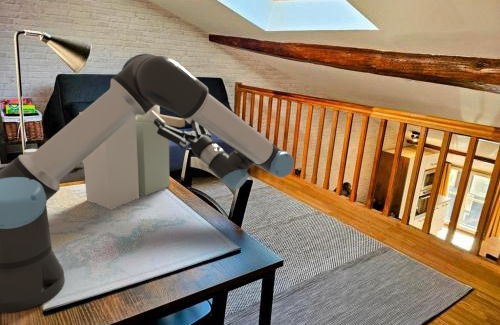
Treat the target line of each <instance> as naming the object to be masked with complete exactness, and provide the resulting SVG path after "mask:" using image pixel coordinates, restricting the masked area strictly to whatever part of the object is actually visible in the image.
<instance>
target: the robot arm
mask: <svg viewBox="0 0 500 325" xmlns="http://www.w3.org/2000/svg"><path fill="white" fill-rule="evenodd" d="M155 105H158V106H160V107H161V108H163V109H165V110H168V111H170V112H172V113H174V114H175V115H178V116H179V117H180V118H183V119H185V122H187V123H188V124H189V125H190V126H192V130H191V131H186V130H180V129H177V128H176V127H174V126H171V125H169V126H168V125H165V124H166V122H165V121H163V120H162V119H161V118H160V117H159V116H158V115H157V114H156V113H155V112H154V111H153V110H152V111H151V112H150V115H149V118H150V119H151V120H152V121H153V123H154V124H155V125H156V126H157V127H158V128H159V129H158V131H157V134H159V135H161V136H163V137H164V138H166V139H168V140H169V142H172V143H174V144H176V145H178V147H180V148H181V149H185V148H186V147H187V146H188V147H189V148H191V153H192V154H193V155H194V156H195V157H196V158H197V159H199V160H200V162H201V163H202V164H203V165H205V167H207V168H208V169H209V170H210V171H211V172H212V173H213V174H214V175H215V176H216V177H217V178H218V179H219V180H220V181H221V182H222V183H223V184H224V185H226V186H227V188H229V189H230V190H233V191H234V190H237V189H239V188H241V187H242V186H243V185H244V184H245V183H246V181H247V180H248V179H249V175H250V174H249V172H248V170H249V169H250V168H251V167H252V166H256V167H257V168H259V169H261V170H264V171H265V172H267V173H268V174H271V175H272V176H275V177H278V178H286V177H287V176H289V175H290V174H291V173H292V171H293V169H294V165H295V162H294V161H295V159H294V158H293V156H292V155H291V154H290V153H289V152H287V151H286V150H282V149H280V148H279V147H278V146H276V145H275V144H274V143H272V142H271V141H270V140H269V139H268V138H267V137H266V136H265V135H264V134H262V133H261V132H259V131H257V130H256V129H255V128H253V127H252V126H251V125H250V124H248V123H247V122H245V120H243V119H242V118H241V117H239V116H238V115H237V114H235V113H234V112H233V111H232V110H230V109H229V108H228V107H227V106H225V105H224V104H223V103H222V102H220V101H219V99H217V98H215V97H214V96H213V95H211V94H210V92H209V88H208V86H207V85H205V83H203V82H202V81H200V80H199V79H198V78H197V77H196V76H195V75H193V73H191V72H190V71H189V70H187V69H186V68H185V67H184V66H183V65H181V63H179V62H178V61H176V60H174V59H173V58H171V57H168V56H165V55H163V56H162V55H155V54H152V53H151V54H150V53H140V54H136V55H133V56H132V57H130V58H129V59H128V60H127V61H126V62H125V63H124V65H123V66H122V68H121V70H120V71H119V72H118V73H117V74H115V75H114V76H113V77H112V78H111V79H110V87H109V89H108V90H107V91H106V92H104V93H103V94H102V95H101V96H99V97H98V98H97V99H96V100H95V101H94V102H92V103H91V104H90V105H89V106H87V107H86V108H85V109H84V110H83V111H81V112H82V113H80V114H78V115H77V116H76V117H74V118H73V119H71V121H69V123H67V124H66V125H65V126H64V127H63V128H61V129H60V130H59V131H58V132H57V133H55V134H54V135H53V136H51V138H50V139H48V140H47V141H46V142H45V143H44V144H42V145H41V146H39V147H38V148H36V149H37V150H36V151H35V152H34V153H33V154H31V155H24V154H19V155H18V156H17V157H15V158H14V159H12V161H10V162H9V163H8V164H5V165H2V166H0V313H14V312H15V313H16V312H21V311H26V310H29V309H32V308H34V307H37V306H40V305H42V304H43V303H45V302H47V301H49V300H51V299H52V298H53V297H55V296H56V295H57V294H58V293H59V292H60V291H61V290H62V288H63V287H64V285H65V282H66V281H65V280H66V279H65V271H64V268H63V266H62V265H61V263H60V261H59V259H58V258H57V256H56V254H55V253H54V251H53V249H52V248H53V247H52V241H51V240H52V238H51V234H50V233H51V232H50V224H49V215H48V208H47V201H48V200H50V199H51V197H53V196H54V195H56V193H57V192H58V191H60V188H61V187H60V185H61V180H62V179H63V178H64V177H66V176H67V175H68V174H69V173H71V171H73V170H72V169H74V170H75V169H76V168H75V167H76V166H77V165H78V164H79V163H80V162H82V161H83V160H84V159H85V158H86V157H87V156H88V155H90V154H91V153H92V152H93V151H94V150H95V149H96V148H98V147H99V146H100V145H101V144H102V143H103V142H104V141H106V140H107V139H108V138H109V137H110V136H111V135H112V134H114V133H115V132H116V131H117V130H118V129H119V128H120V127H122V126H123V125H124V124H125V123H126V122H127V121H128V120H130V119H131V118H132V117H133V116H134V115H144V114H146V113H147V112H148V111H149V110H150V109H151V108H152V107H154V106H155ZM212 135H213V136H215V137H217V138H218V139H220V140H221V141H222V142H224V143H226V144H227V145H229V146H230V147H231V148H233V149H234V150H232V152H230V154H228V153H227V152H226V151H225V150H224V149H223V148H222V147H221V146H219V145H218V144H217V143H216V141H214V140H213V138H212Z"/></svg>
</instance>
